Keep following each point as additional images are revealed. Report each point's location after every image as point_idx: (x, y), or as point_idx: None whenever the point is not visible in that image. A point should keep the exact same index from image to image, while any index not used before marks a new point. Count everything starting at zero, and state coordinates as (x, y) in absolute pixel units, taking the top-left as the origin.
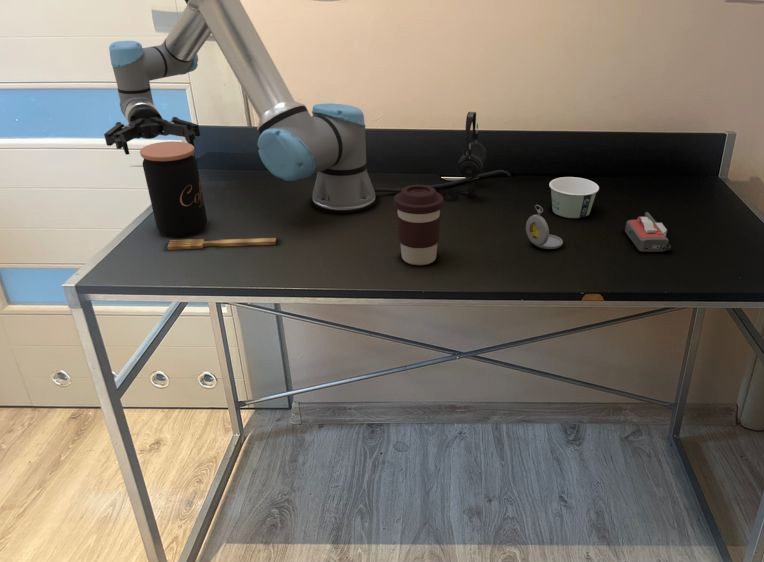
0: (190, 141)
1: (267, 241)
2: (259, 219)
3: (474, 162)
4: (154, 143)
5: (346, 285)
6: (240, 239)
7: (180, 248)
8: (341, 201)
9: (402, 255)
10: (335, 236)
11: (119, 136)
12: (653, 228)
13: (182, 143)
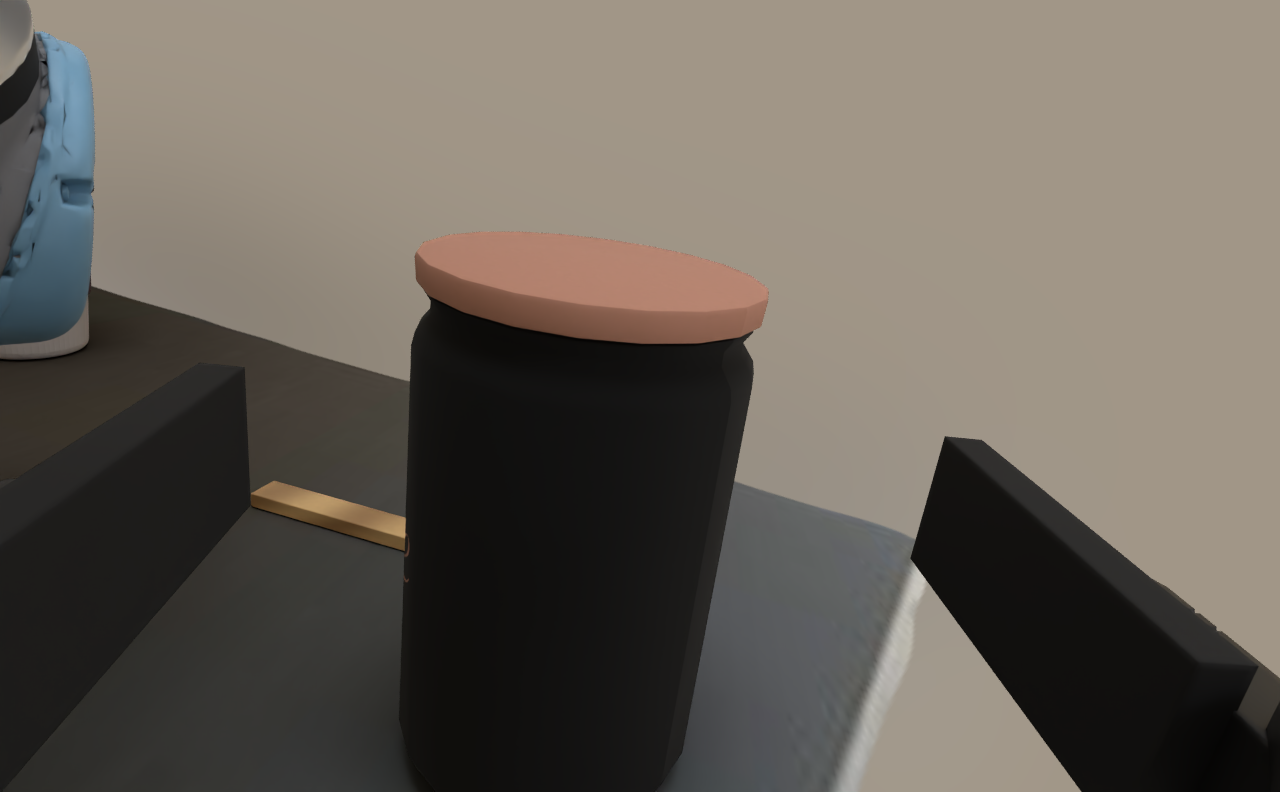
0: (241, 439)
1: (298, 488)
2: (108, 675)
3: None
4: (669, 307)
5: (296, 355)
6: (373, 525)
7: None
8: None
9: (78, 336)
10: (41, 462)
11: (1258, 728)
12: None
13: (467, 264)
